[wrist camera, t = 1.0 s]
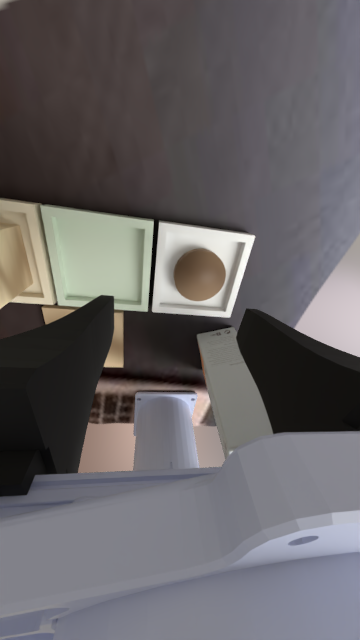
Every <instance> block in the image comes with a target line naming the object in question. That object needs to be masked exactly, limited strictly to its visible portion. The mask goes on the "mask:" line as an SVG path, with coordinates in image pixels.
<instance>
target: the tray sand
mask: <svg viewBox="0 0 360 640" xmlns="http://www.w3.org/2000/svg"><path fill="white" fill-rule="evenodd" d="M40 205H42V204H41V203H34V202H27V201H20V200H13V199H6V198H0V223H8V224H16V225H20V229H21V233H22V237H23V241H24V246H25V250H26V254H27V258H28V262H29V267H30V271H31V275H32V279H33V284H32V285H31V286H29V287H28V288H27V289H25V290H24V291H23V292H21V293H20V294H19V295H18V296H16V297H15V298H14V299H12V300H11V301H10V302H18V303H32V304H46V305H54V304H55V303H56V301H57V295H56V290H55V284H54V279H53V273H52V268H51V262H50V257H49V251H48V246H47V240H46V235H45V229H44V224H43V219H42V213H41V208H40Z"/></svg>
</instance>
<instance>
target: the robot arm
mask: <svg viewBox="0 0 360 640" xmlns="http://www.w3.org/2000/svg"><path fill="white" fill-rule="evenodd" d="M113 334H114V296H108V295H100V296H98V297H97V298H95V299H93V300H92V301H90V302H89V303H87V304H85V305H84V306H82V307H80V308H79V309H77V310H75V311H73V312H71V313H70V314H68V315H66V316H64V317H62V318H60V319H58V320H56V321H53V322H51V323H49V324H46V325H44V326H41V327H39V328H36V329H33V330H30V331H27V332H24V333H21V334H17V335H14V336H11V337H7V338H4V339H0V640H360V357H357V356H354V355H352V354H349V353H346V352H343V351H341V350H338V349H335V348H333V347H331V346H328V345H326V344H324V343H321V342H319V341H317V340H314V339H313V338H310V337H308V336H306V335H304V334H302V333H300V332H299V331H297V330H295V329H293V328H291V327H289V326H288V325H286V324H284V323H282V322H280V321H279V320H277V319H275V318H273V317H272V316H270V315H268V314H266V313H264V312H262V311H259V310H257V309H247V308H246V311H245V314H244V317H243V319H242V322H241V325H240V328H239V330H238V333H237V336H236V340H237V344H238V347H239V350H240V353H241V355H242V357H243V359H244V361H245V363H246V365H247V367H248V369H249V371H250V373H251V375H252V377H253V379H254V382H255V384H256V386H257V388H258V390H259V392H260V395H261V398H262V401H263V403H264V406H265V409H266V412H267V415H268V418H269V421H270V424H271V427H272V431H273V434H271V435H265V436H260V437H257V438H255V439H253V440H251V441H249V442H246V443H244V444H242V445H240V446H238V447H237V448H236V449H235V450H234V451H233V452H232V453H231V454H230V455H229V456H228V457H227V458H226V460H225V461H224V463H223V465H222V467H209V468H200V467H199V461H198V455H197V449H196V442H195V437H194V431H193V424H192V414H193V410H194V407H195V403H196V400H197V393H195V392H137V393H136V394H135V414H134V436H136V440H135V453H134V467H133V471H117V472H94V473H78V468H79V463H80V458H81V452H82V447H83V444H84V439H85V434H86V429H87V425H88V420H89V416H90V411H91V407H92V403H93V399H94V395H95V390H96V387H97V384H98V380H99V378H100V375H101V372H102V369H103V367H104V364H105V361H106V358H107V355H108V353H109V350H110V347H111V343H112V339H113Z"/></svg>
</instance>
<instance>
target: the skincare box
mask: <svg viewBox="0 0 360 640" xmlns="http://www.w3.org/2000/svg"><path fill="white" fill-rule="evenodd" d="M236 336H237V332H236V331H235V329H234V327H230V328H225V329H221V330H216V331H211V332H206V333H201V334H198V335H197V340H198V345H199V350H200V356H201V362H202V369H203V374H204V378H205V382H206V386H207V390H208V394H209V397H210V401H211V405H212V409H213V413H214V417H215V421H216V425H217V429H218V432H219V436H220V440H221V444H222V448H223V452H224V455H225V460H226V458H227V457H228V456H229V455H230V454H231V453H232V452H233V451H234V450H235V449H236V448H237V447H238V446H240V445H242V444H244V443H246V442H249V441H251V440H253V439H255V438H257V437H260V436H265V435H271V434H273V431H272V427H271V424H270V421H269V418H268V415H267V412H266V409H265V406H264V403H263V401H262V398H261V395H260V392H259V390H258V388H257V386H256V384H255V382H254V379H253V377H252V375H251V373H250V371H249V369H248V367H247V365H246V363H245V361H244V359H243V357H242V355H241V353H240V350H239V347H238V344H237V340H236Z"/></svg>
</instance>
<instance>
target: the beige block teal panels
mask: <svg viewBox="0 0 360 640" xmlns="http://www.w3.org/2000/svg"><path fill="white" fill-rule="evenodd" d="M32 284H33V279H32V275H31V271H30V267H29V262H28V258H27V254H26V250H25V246H24V241H23V237H22V233H21V229H20V225H16V224H8V223H0V309H1V308H2V307H3V306H5V305H6V304H7V303H8V302H10V301H11V300H12V299H14V298H15V297H16V296H18V295H19V294H20V293H21V292H23V291H24V290H25V289H27V288H28V287H29V286H31V285H32Z"/></svg>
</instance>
